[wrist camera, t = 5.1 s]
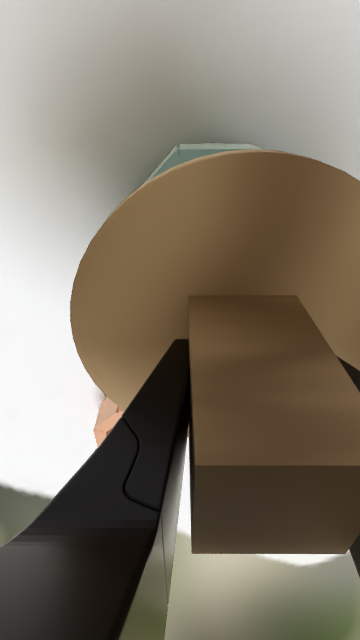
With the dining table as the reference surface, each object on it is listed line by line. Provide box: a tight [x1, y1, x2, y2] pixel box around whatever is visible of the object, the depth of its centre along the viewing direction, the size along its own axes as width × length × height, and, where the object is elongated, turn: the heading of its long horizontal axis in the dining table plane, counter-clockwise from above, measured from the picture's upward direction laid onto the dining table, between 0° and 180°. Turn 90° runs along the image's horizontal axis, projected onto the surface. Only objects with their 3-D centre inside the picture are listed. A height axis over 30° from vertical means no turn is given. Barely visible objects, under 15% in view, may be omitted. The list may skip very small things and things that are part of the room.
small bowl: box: [94, 396, 124, 447], centre depth 26 cm, size 7×7×4 cm
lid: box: [70, 149, 360, 554], centre depth 8 cm, size 10×10×6 cm
